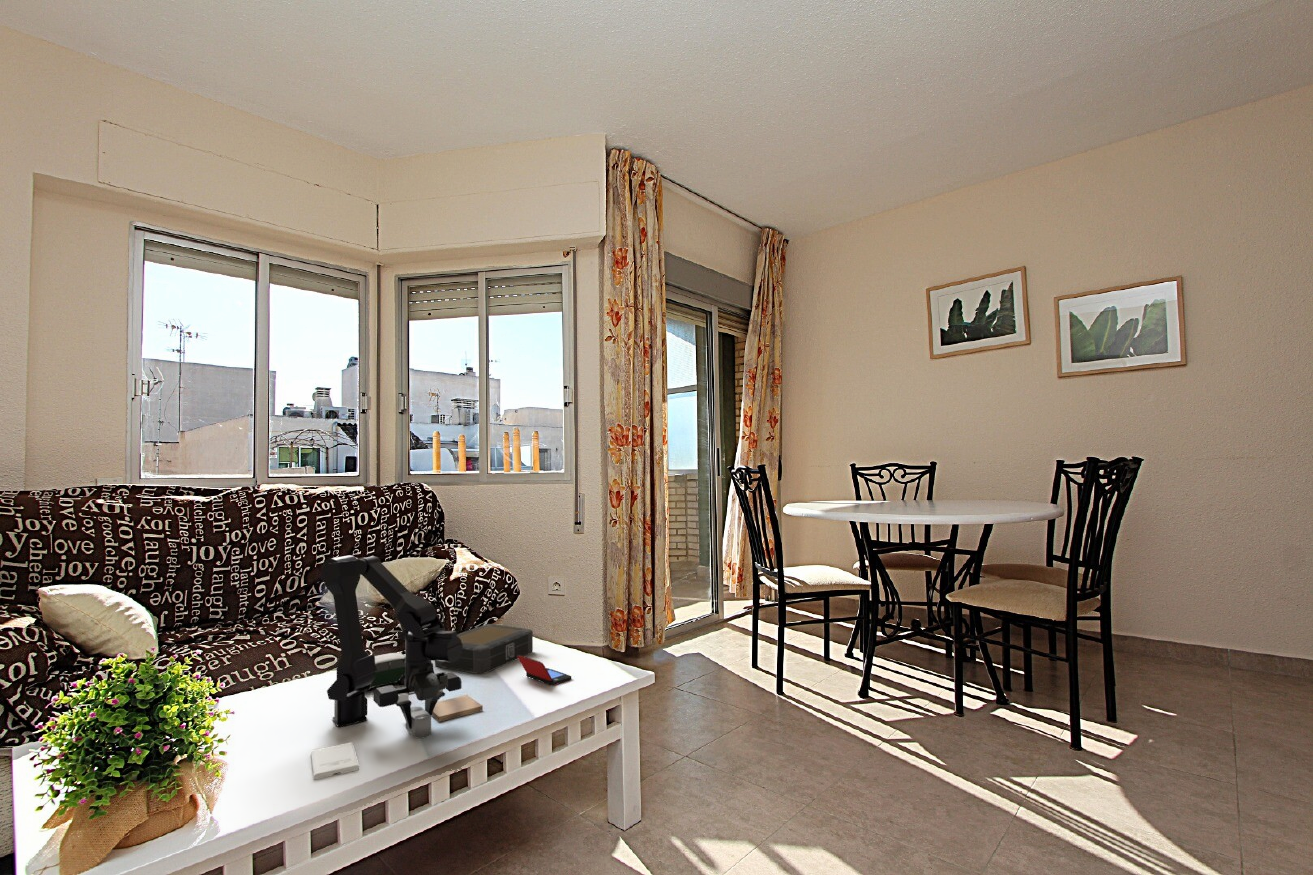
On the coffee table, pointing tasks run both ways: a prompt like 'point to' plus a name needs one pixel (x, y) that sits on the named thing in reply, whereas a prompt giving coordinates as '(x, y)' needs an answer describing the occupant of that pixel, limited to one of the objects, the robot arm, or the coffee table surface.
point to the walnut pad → (455, 708)
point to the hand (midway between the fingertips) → (418, 726)
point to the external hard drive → (334, 760)
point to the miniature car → (389, 669)
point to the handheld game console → (542, 671)
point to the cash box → (490, 648)
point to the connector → (420, 722)
